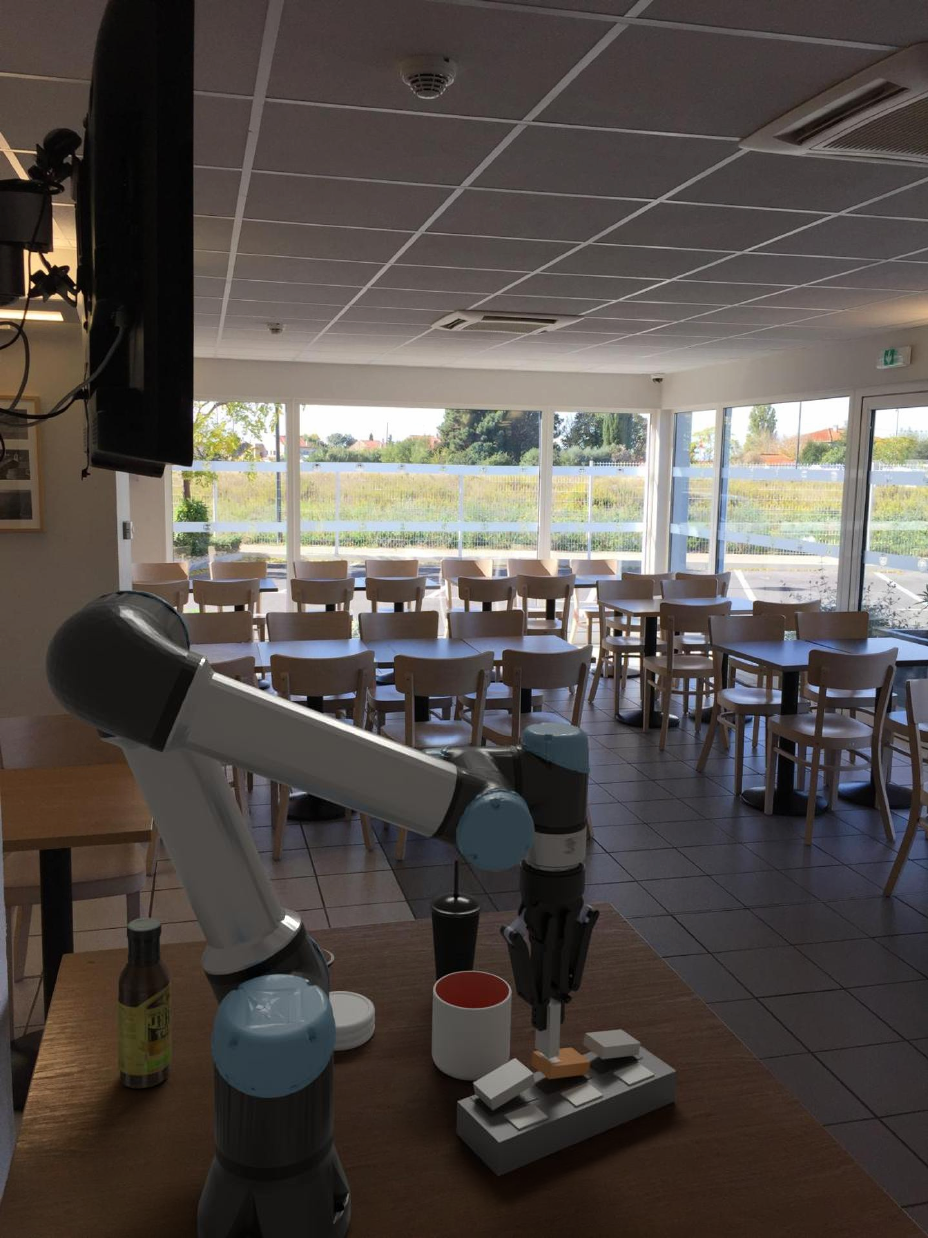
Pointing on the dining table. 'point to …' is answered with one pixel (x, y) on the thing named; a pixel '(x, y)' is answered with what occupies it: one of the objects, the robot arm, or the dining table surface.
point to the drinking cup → (454, 929)
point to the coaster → (352, 1019)
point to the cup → (471, 1024)
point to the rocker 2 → (561, 1064)
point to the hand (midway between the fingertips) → (547, 1051)
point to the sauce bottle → (144, 1008)
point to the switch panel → (564, 1109)
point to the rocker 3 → (611, 1044)
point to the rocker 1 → (504, 1084)
